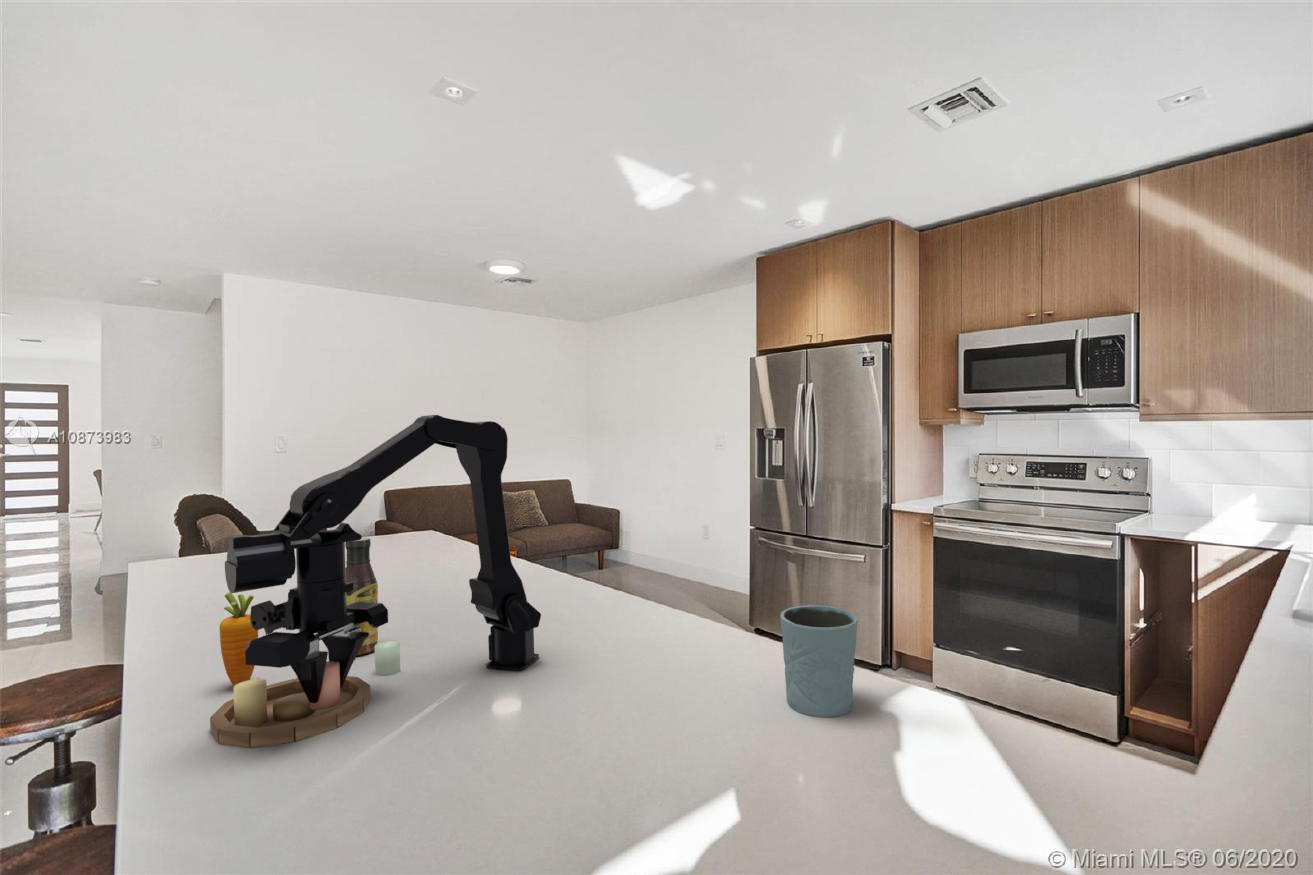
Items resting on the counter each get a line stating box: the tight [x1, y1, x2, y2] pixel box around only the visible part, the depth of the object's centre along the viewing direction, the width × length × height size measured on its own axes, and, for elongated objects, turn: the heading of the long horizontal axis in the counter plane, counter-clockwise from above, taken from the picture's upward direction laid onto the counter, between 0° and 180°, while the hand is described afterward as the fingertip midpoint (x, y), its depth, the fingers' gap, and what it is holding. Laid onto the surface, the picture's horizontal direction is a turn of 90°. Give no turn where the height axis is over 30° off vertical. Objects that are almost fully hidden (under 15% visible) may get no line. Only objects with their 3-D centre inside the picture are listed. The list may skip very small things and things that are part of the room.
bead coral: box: [310, 660, 341, 710], centre depth 84 cm, size 4×4×5 cm
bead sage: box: [374, 640, 401, 676], centre depth 100 cm, size 4×4×5 cm
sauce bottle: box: [345, 537, 379, 656], centre depth 112 cm, size 7×6×20 cm
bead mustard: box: [232, 678, 267, 727], centre depth 83 cm, size 4×4×5 cm
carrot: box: [219, 591, 259, 687], centre depth 95 cm, size 5×5×15 cm
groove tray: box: [209, 675, 372, 748], centre depth 85 cm, size 18×18×2 cm
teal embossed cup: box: [780, 604, 859, 718], centre depth 85 cm, size 10×10×12 cm
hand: (325, 696), depth 84 cm, fingers closed on bead coral, 4 cm apart
